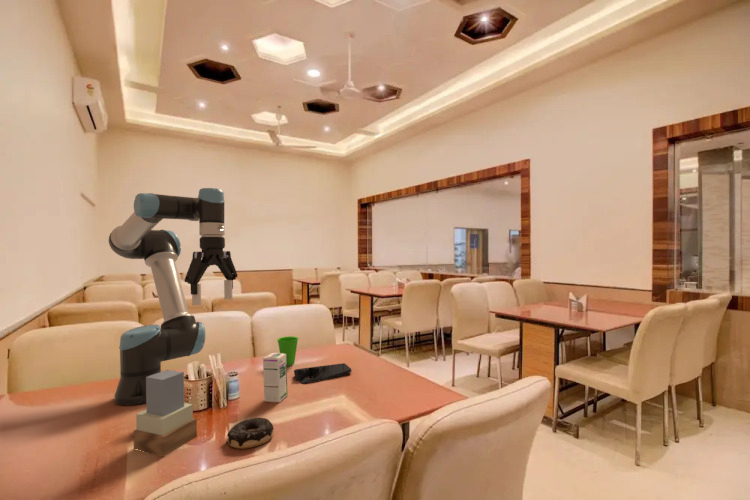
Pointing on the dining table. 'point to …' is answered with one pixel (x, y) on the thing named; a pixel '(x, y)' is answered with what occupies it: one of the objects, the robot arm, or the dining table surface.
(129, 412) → the dining table surface
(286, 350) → the cup
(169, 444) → the tower base
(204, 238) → the robot arm
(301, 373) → the dark slate chunk
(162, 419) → the tower top
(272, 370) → the syrup box
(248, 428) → the donut
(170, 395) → the gray block
